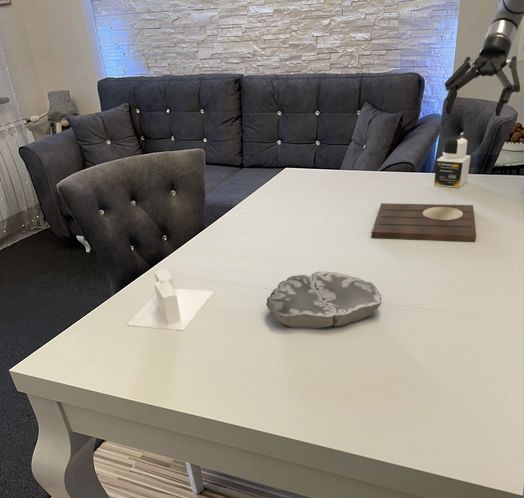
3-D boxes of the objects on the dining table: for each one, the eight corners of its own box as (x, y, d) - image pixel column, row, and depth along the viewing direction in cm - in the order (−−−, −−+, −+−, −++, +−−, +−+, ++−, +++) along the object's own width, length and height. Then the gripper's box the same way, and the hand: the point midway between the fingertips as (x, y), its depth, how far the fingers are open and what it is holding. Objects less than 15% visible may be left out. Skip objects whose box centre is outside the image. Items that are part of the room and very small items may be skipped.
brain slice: (358, 280, 103) (358, 266, 101) (391, 323, 89) (392, 307, 87) (258, 294, 101) (256, 280, 99) (275, 340, 86) (274, 324, 85)
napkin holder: (184, 330, 91) (179, 300, 88) (125, 325, 94) (118, 296, 91) (214, 291, 103) (211, 263, 100) (161, 287, 106) (156, 260, 103)
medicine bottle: (433, 185, 149) (438, 140, 143) (442, 178, 154) (447, 135, 148) (459, 188, 146) (465, 142, 139) (467, 181, 150) (473, 136, 144)
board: (472, 211, 130) (473, 204, 129) (475, 241, 114) (476, 234, 113) (380, 208, 136) (380, 202, 135) (371, 238, 120) (371, 230, 119)
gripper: (546, 53, 146) (520, 122, 144) (455, 54, 159) (430, 118, 158) (545, 32, 140) (518, 104, 138) (451, 35, 153) (425, 101, 151)
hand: (471, 112), depth 148 cm, fingers open, 13 cm apart
